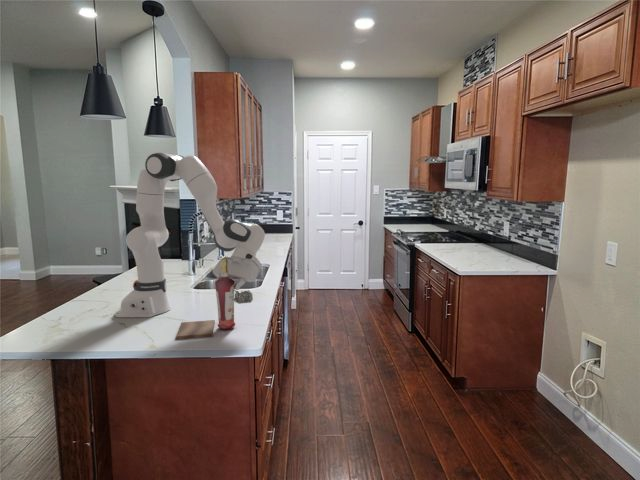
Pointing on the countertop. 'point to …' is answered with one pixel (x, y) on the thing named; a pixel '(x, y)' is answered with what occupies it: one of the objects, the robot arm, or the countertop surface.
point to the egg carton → (243, 296)
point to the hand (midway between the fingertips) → (226, 287)
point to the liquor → (225, 298)
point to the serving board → (195, 329)
